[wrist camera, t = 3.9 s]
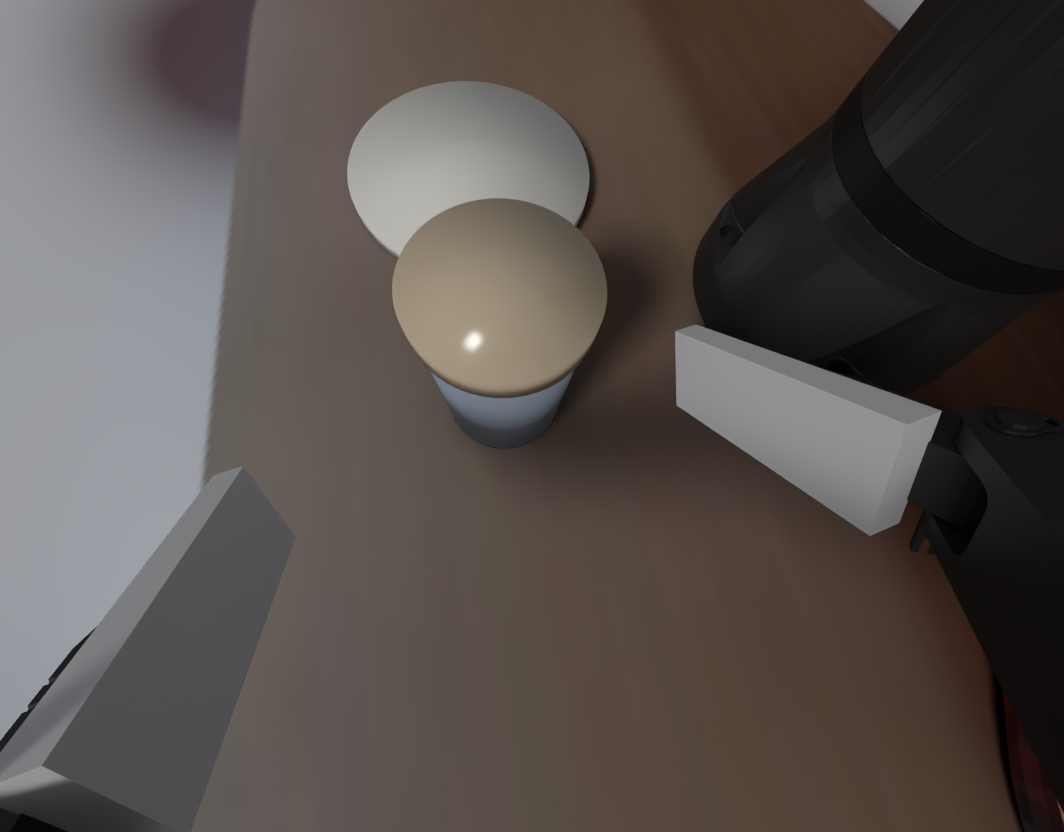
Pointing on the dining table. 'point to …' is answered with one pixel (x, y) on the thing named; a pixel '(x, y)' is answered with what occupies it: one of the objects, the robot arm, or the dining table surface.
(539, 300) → the jar
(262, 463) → the dining table surface
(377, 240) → the plate
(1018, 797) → the dish
